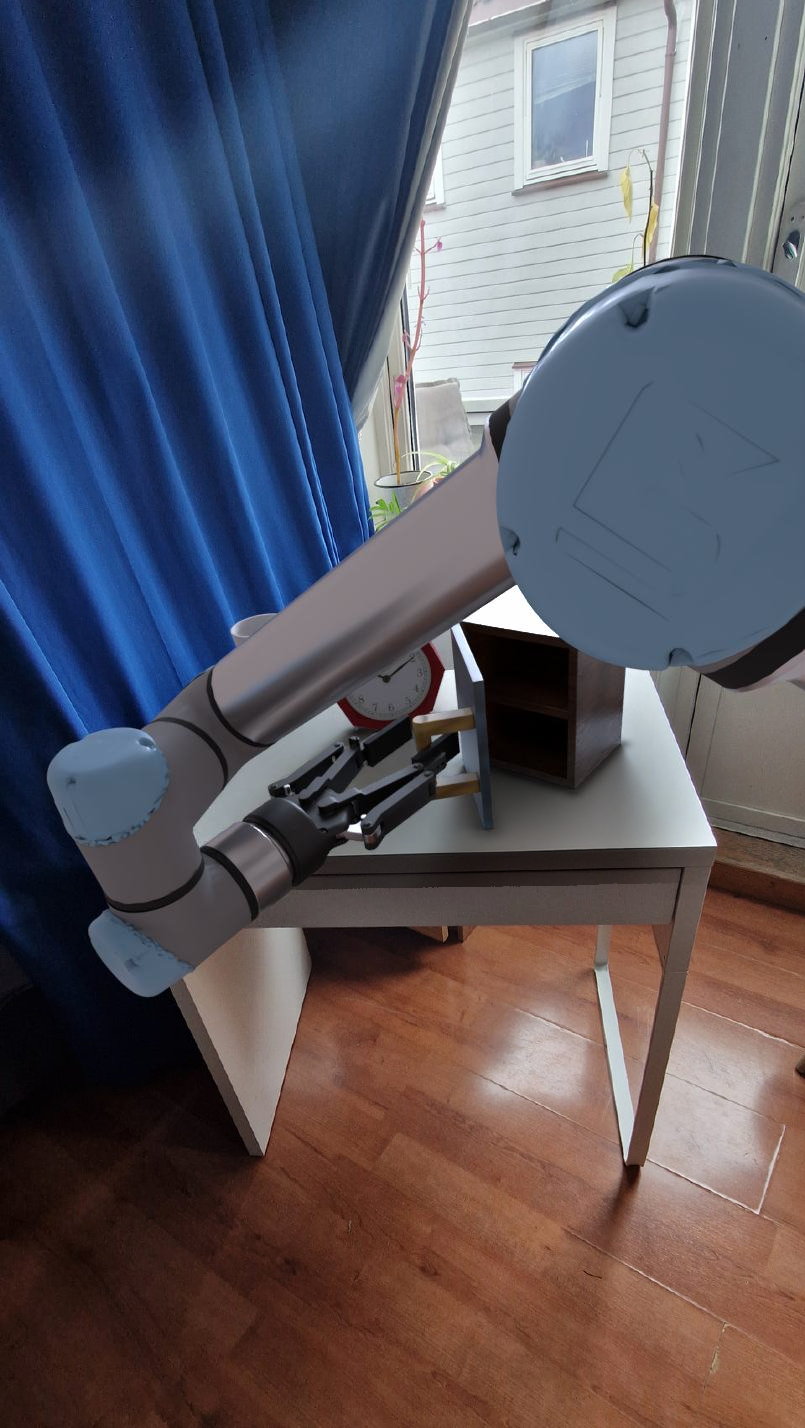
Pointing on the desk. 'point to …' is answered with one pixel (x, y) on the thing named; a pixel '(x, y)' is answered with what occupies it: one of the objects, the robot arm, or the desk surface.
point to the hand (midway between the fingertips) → (431, 733)
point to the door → (463, 731)
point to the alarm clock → (397, 691)
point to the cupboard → (542, 694)
